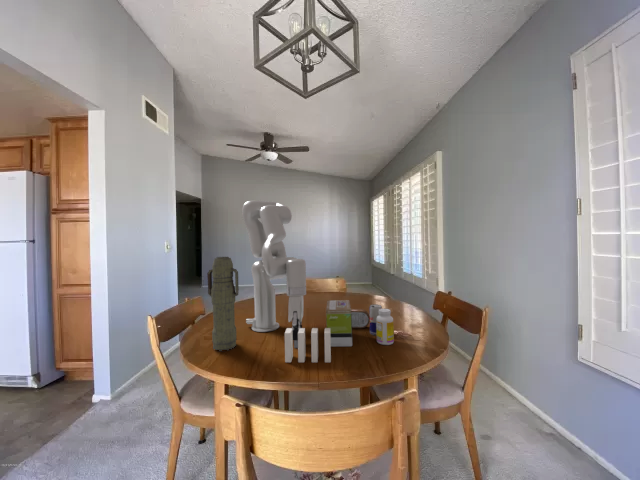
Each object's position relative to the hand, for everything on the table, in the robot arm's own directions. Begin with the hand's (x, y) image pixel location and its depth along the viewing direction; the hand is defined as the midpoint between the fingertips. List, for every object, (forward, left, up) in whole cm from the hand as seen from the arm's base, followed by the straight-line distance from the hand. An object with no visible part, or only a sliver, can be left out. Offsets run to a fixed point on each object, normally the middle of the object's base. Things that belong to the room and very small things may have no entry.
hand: (297, 336), depth 110 cm
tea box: (+16, +6, -4) cm, 18 cm away
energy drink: (+32, +13, -4) cm, 35 cm away
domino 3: (+3, -12, -3) cm, 13 cm away
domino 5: (+12, -12, -3) cm, 17 cm away
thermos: (-29, -1, -4) cm, 29 cm away
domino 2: (0, 0, -3) cm, 3 cm away
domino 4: (+7, -12, -3) cm, 15 cm away
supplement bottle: (+34, +3, -4) cm, 35 cm away
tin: (+23, +21, -4) cm, 32 cm away
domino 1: (-2, -12, -3) cm, 13 cm away
